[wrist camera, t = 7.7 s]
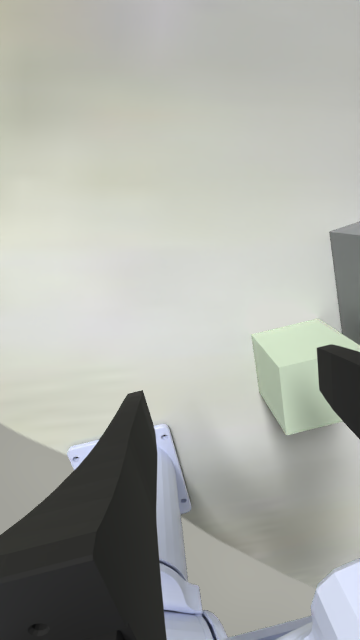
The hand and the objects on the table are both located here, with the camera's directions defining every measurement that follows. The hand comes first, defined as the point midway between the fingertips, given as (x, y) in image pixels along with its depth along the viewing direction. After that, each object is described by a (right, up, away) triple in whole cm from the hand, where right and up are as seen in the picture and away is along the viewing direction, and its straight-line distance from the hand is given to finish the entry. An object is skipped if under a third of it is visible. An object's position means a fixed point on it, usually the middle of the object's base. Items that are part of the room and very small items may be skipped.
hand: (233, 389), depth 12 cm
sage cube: (+6, 0, +11) cm, 12 cm away
